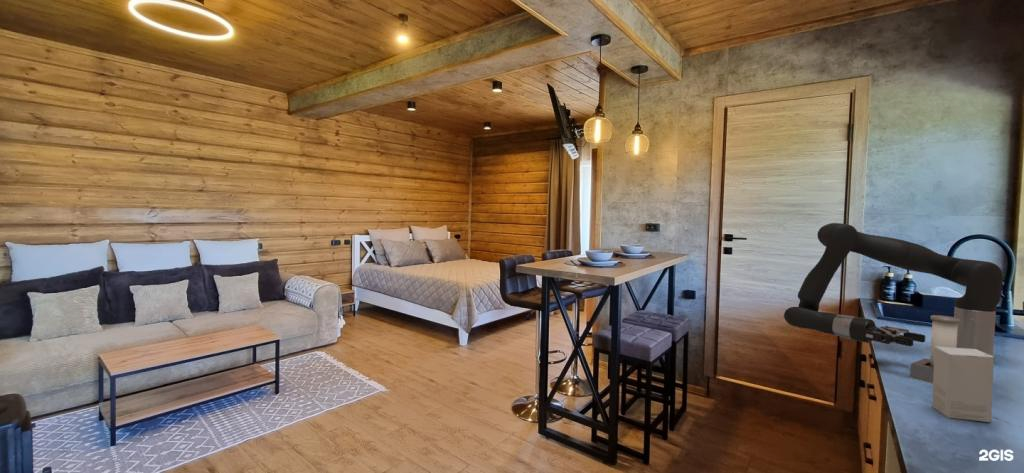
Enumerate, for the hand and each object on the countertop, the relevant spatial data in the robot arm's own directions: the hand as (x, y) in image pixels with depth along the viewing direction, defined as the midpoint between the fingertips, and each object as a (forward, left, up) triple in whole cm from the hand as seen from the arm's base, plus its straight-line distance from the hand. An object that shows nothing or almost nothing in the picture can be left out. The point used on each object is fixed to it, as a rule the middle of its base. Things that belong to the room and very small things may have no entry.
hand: (919, 340), depth 125 cm
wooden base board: (-6, +5, -11) cm, 14 cm away
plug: (0, +5, -10) cm, 11 cm away
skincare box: (+23, +15, -11) cm, 29 cm away
